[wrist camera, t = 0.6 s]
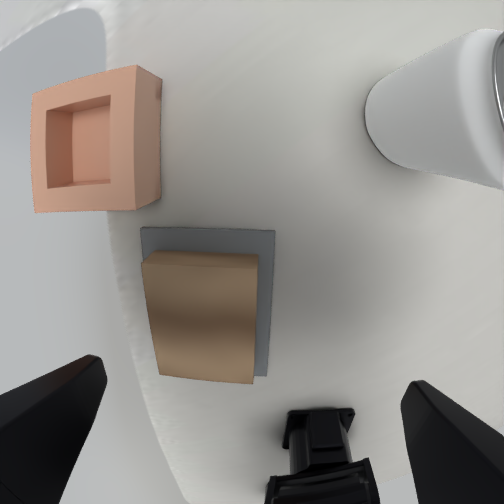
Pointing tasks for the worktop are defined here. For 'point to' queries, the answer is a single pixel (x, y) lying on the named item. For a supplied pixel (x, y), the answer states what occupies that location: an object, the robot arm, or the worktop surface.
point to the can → (445, 110)
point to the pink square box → (97, 142)
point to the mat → (226, 243)
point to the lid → (203, 313)
